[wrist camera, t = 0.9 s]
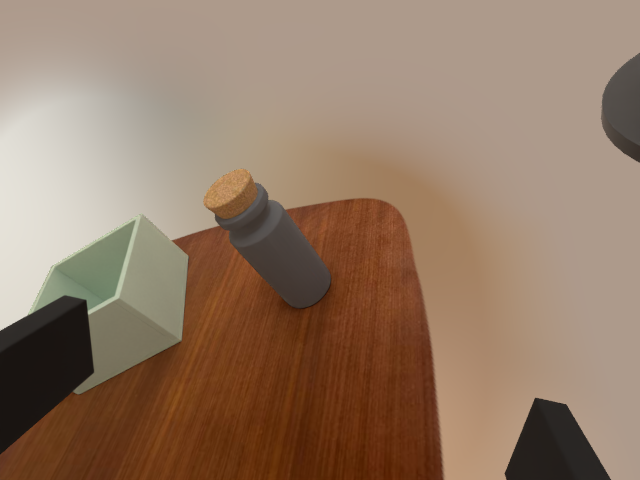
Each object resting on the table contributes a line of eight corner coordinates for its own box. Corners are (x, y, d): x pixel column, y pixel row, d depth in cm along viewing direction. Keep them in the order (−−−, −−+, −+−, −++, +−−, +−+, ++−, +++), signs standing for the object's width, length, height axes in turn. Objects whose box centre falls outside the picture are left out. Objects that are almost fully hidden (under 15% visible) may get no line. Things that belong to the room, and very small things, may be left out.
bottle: (298, 319, 39) (207, 223, 29) (276, 288, 43) (190, 196, 33) (341, 282, 39) (265, 176, 30) (315, 256, 44) (242, 156, 34)
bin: (188, 256, 56) (141, 212, 50) (181, 340, 45) (119, 297, 38) (106, 302, 58) (51, 266, 52) (79, 394, 47) (3, 362, 41)
